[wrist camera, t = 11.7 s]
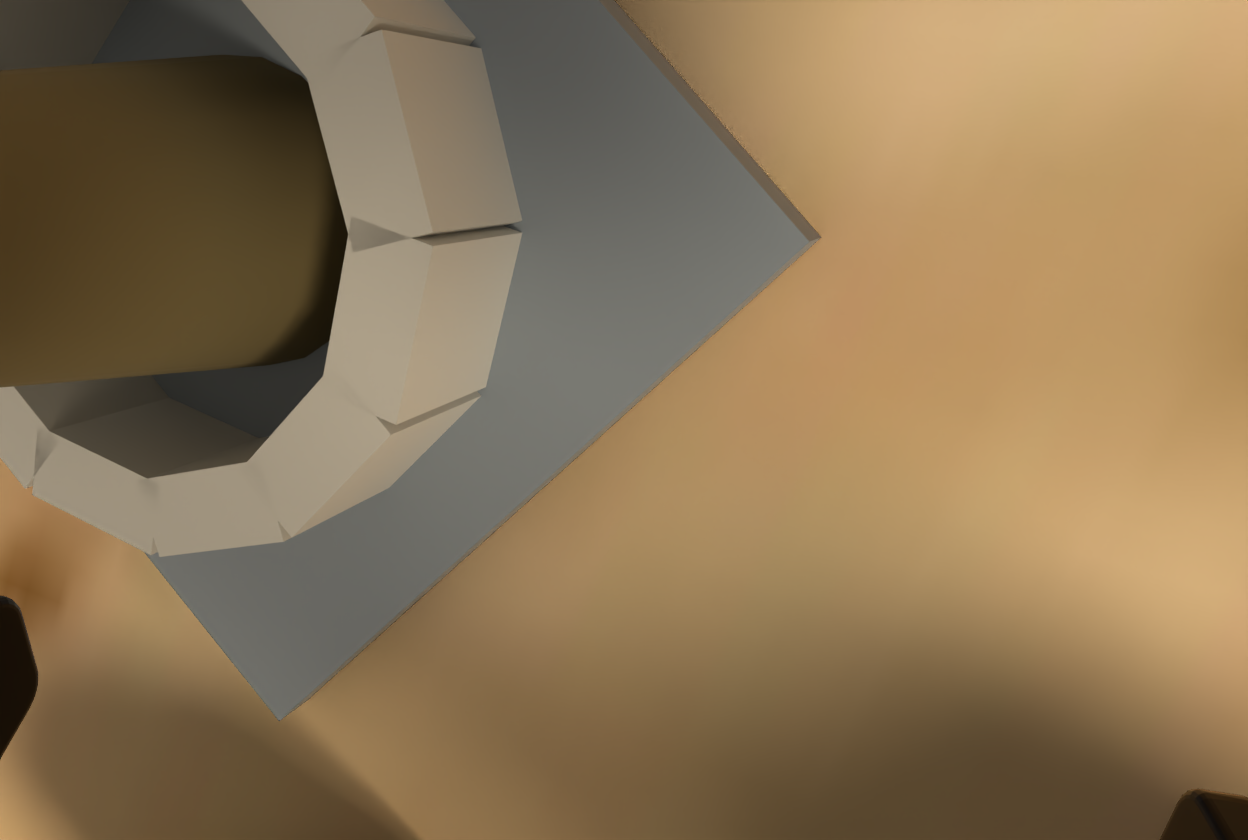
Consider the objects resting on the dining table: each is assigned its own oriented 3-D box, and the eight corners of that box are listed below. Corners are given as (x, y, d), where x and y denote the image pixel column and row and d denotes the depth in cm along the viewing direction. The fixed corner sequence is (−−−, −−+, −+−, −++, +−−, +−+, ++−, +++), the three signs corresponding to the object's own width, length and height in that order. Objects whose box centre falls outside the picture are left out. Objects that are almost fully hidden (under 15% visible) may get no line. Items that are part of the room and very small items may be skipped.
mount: (821, 237, 18) (764, 258, 14) (307, 700, 24) (179, 795, 21) (234, -435, 19) (39, -577, 15) (-101, 190, 25) (-291, 196, 22)
